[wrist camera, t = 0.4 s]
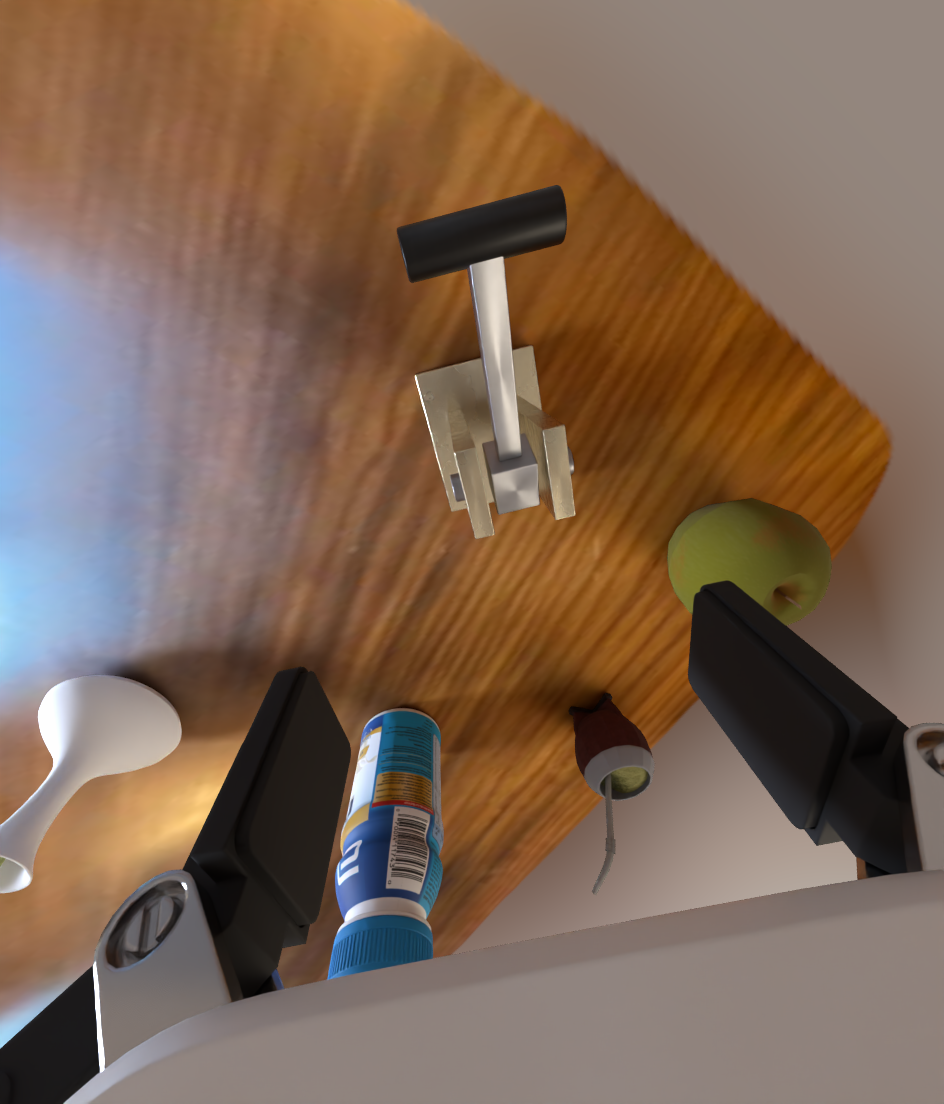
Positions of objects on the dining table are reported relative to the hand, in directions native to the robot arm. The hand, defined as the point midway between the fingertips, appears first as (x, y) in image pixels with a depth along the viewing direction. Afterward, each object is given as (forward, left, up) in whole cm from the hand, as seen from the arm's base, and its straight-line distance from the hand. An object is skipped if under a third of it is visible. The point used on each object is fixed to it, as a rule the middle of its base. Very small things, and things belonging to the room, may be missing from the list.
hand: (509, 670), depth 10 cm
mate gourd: (+31, -11, -24) cm, 40 cm away
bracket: (+1, +2, -23) cm, 24 cm away
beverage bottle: (+17, -26, -24) cm, 39 cm away
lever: (-4, +5, -11) cm, 13 cm away
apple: (+21, +9, -24) cm, 33 cm away
